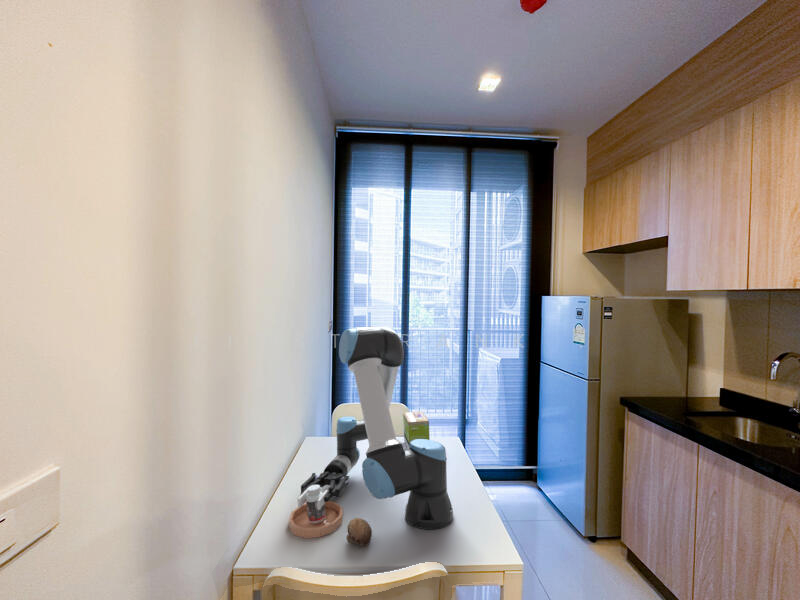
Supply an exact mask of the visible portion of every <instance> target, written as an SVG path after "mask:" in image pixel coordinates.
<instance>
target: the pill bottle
mask: <svg viewBox="0 0 800 600" xmlns="http://www.w3.org/2000/svg"><path fill="white" fill-rule="evenodd" d="M307 493H308V495H307V497H306V502H305V504H307V512H308V521H309V522H310V523H313V524H315V523H319V522H322V521H323V520H324V519H325V518H326V512H325V504H324V505H323V506H322V508H321V509H320V510H317V500H318V499H319V498H320V497H321V495H322V494H323V493H324V492H322V491H321V487H320V485H312V486H310V487H308V488H307Z"/></svg>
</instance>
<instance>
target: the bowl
mask: <svg viewBox="0 0 800 600" xmlns="http://www.w3.org/2000/svg"><path fill="white" fill-rule="evenodd" d="M343 510H344V509H343V506H341V505H340V504H339V503H338V502H335V501H331V500H329V501H328V502H325V512H326V518H325V519H324V520H323V521H322V522H319V523H315V524H313V523H310V522H309V521H308V512H307V504H306V503H304V504H303V505H302V506H301V508H298V507H296V508H295V509H294V510H292V511H291V513H290V515H289V519H288V527H289V529H290V531H291V533H292V534H293V535H295V536H298V537H301V538H304V539H309V538H310V539H311V538H321V537H325V536H327V535H328V534H331V533H334V532H335V531H336V530H337V529H338V528H339V527H340V526H341V525H342V524H343V519H344V518H343V517H344V511H343Z"/></svg>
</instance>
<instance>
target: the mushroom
mask: <svg viewBox="0 0 800 600" xmlns="http://www.w3.org/2000/svg"><path fill="white" fill-rule="evenodd" d="M372 536H373V531H372V527H371V526H370V524H369V523H368V521H366V520H365V519H363V518H360V517H354V518H353V519H351V520H350V521H349V522H348V525H347V536H346V541H347V542H348V543H350V544H354V543H355V544H357V545H358V546H360V547H366V546H368V545H369V544H370V542H371V541H372Z"/></svg>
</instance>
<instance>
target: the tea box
mask: <svg viewBox="0 0 800 600" xmlns="http://www.w3.org/2000/svg"><path fill="white" fill-rule="evenodd" d="M402 417H403V420H402V421H403V439H404V440H403V441H404V444H405V447H406V449H409V448H410V447H409V444H410V442H411V441H412V440H415V439H428V440H431V439H430V421H429V419H428V418H427V416H426V415H425V413H424V412H423V411H410V412H403V414H402Z"/></svg>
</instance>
